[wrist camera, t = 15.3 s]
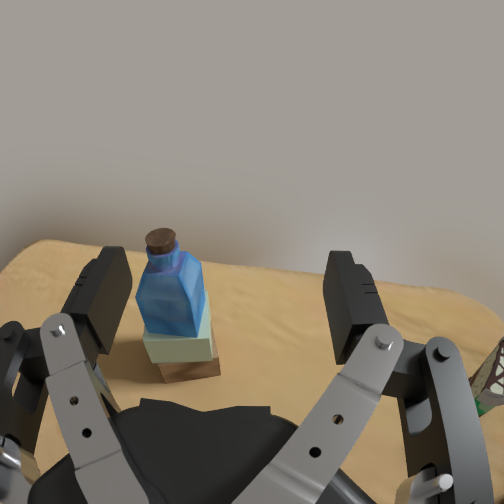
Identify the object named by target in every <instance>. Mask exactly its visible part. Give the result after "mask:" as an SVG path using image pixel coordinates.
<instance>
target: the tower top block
mask: <svg viewBox="0 0 504 504" xmlns="http://www.w3.org/2000/svg"><path fill="white" fill-rule="evenodd" d="M204 291H205V298H206V300H205V305H204V309H203V314H202V319H201V323H200V328H199V333H198V338H195V337H184V336H175V335H165V334H157V333H148V332H147V329H146V326H144V334H143V343H144V345H145V348H146V350H147V353H148V355H149V357H150V360H151V362H152V363H177V362H200V361H213V357H212V339H211V319H210V308H209V300H208V291H207V290H204Z"/></svg>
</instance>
